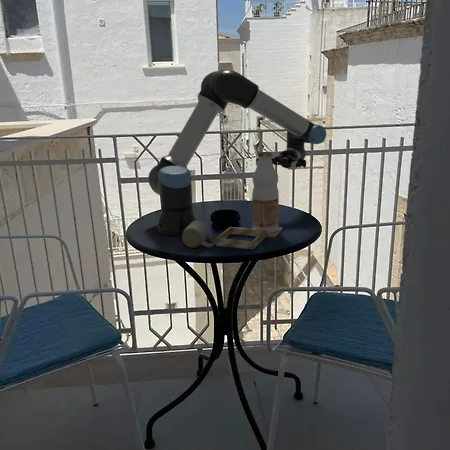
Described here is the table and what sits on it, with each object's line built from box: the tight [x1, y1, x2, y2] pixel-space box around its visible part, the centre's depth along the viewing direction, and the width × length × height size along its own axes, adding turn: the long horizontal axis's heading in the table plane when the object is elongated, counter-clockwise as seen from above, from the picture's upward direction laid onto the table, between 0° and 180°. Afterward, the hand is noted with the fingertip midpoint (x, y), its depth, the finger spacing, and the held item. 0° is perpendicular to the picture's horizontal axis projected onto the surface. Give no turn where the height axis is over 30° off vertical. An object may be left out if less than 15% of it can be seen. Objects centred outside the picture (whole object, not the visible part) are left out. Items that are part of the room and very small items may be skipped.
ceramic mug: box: [181, 220, 215, 249], centre depth 154 cm, size 11×8×8 cm
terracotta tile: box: [265, 226, 283, 238], centre depth 166 cm, size 10×10×1 cm
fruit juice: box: [251, 151, 280, 233], centre depth 162 cm, size 9×9×28 cm
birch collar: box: [214, 226, 267, 250], centre depth 157 cm, size 14×14×2 cm
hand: (274, 165), depth 171 cm, fingers open, 13 cm apart
